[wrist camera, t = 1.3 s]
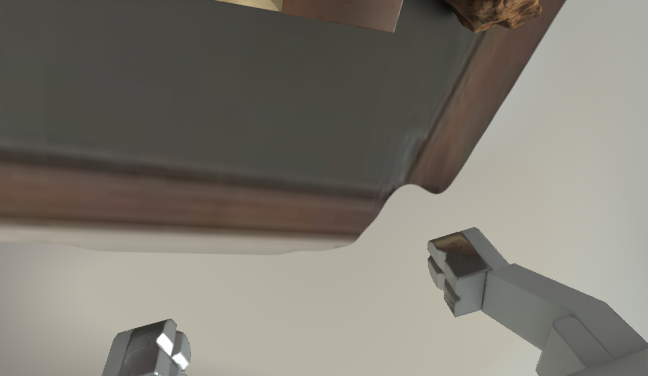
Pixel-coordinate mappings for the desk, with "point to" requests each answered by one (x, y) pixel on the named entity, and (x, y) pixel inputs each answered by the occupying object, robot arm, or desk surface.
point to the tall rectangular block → (346, 12)
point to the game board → (255, 3)
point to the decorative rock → (494, 13)
